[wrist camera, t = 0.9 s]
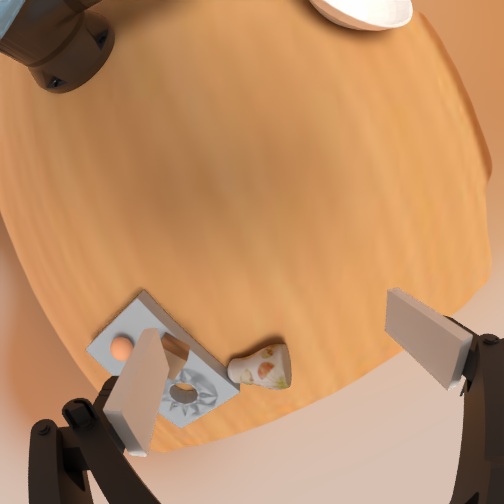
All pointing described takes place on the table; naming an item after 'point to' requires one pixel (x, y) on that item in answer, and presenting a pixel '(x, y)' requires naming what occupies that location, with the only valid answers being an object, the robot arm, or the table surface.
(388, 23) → the bowl
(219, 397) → the grey flat block
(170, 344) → the walnut cube
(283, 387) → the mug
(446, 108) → the table surface
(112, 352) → the ball
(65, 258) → the table surface
